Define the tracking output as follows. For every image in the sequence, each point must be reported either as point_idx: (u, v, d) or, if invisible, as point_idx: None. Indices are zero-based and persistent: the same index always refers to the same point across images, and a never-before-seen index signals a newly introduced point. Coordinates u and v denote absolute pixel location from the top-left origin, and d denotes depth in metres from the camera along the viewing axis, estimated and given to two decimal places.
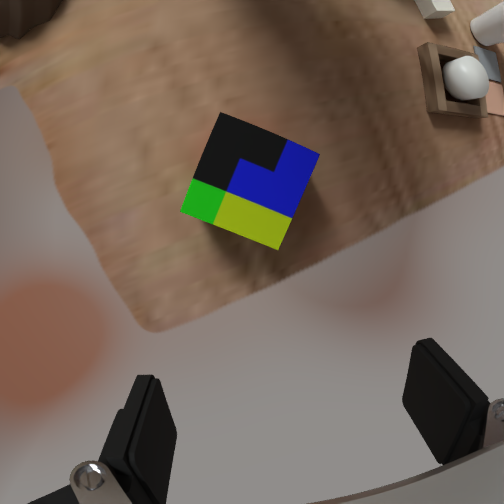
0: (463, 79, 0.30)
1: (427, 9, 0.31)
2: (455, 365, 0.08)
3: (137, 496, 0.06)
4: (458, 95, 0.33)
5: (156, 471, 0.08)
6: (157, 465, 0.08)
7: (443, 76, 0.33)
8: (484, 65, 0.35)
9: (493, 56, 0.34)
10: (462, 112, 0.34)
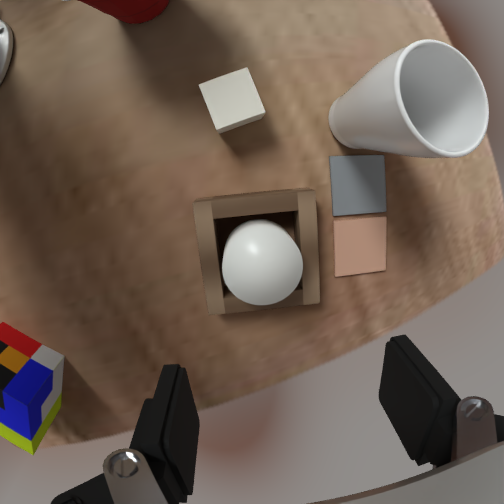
0: (234, 281, 0.24)
1: None
2: (427, 361, 0.09)
3: (169, 483, 0.07)
4: None
5: (185, 458, 0.08)
6: (185, 452, 0.08)
7: None
8: (348, 190, 0.29)
9: (376, 164, 0.28)
10: (259, 308, 0.29)
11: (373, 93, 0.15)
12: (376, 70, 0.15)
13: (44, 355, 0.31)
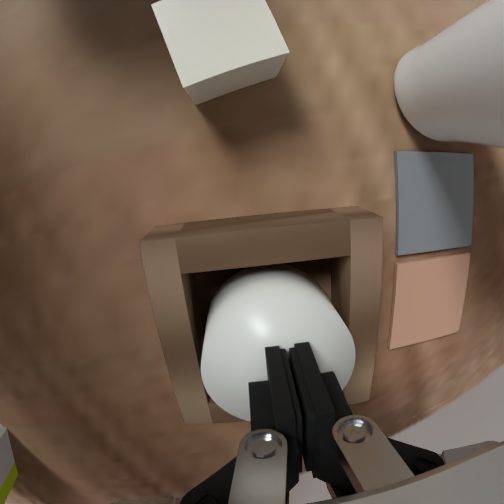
0: (225, 392, 0.12)
1: None
2: (319, 372, 0.09)
3: (297, 458, 0.08)
4: None
5: None
6: None
7: None
8: (422, 212, 0.16)
9: (463, 169, 0.15)
10: None
11: None
12: None
13: None
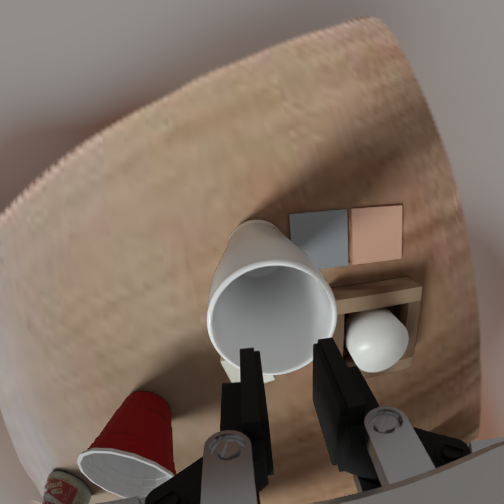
0: (386, 363, 0.29)
1: None
2: (346, 366, 0.10)
3: (265, 461, 0.08)
4: None
5: None
6: None
7: None
8: (326, 252, 0.30)
9: (300, 222, 0.29)
10: (415, 333, 0.31)
11: None
12: None
13: None
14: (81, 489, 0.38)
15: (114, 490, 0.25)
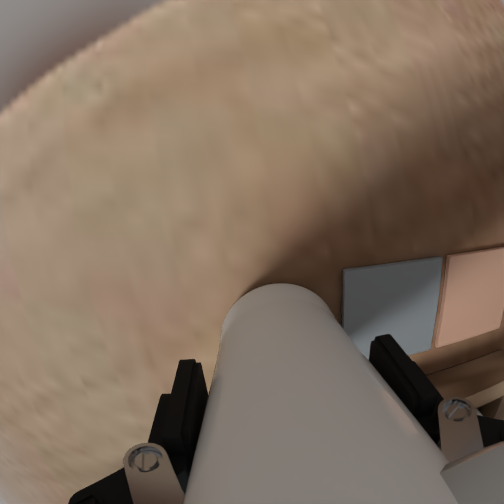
0: None
1: None
2: (410, 361, 0.09)
3: None
4: None
5: None
6: None
7: None
8: (400, 333, 0.15)
9: (362, 286, 0.15)
10: None
11: None
12: None
13: None
14: None
15: None
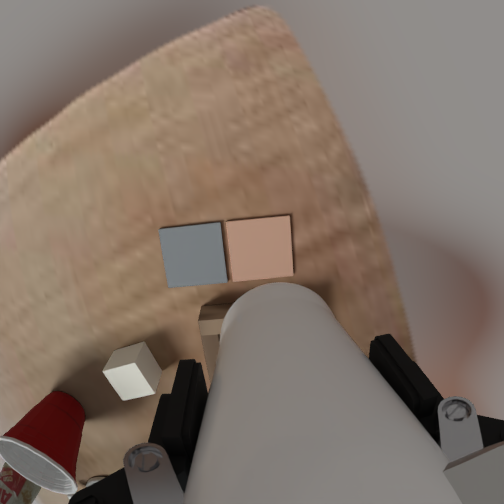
0: None
1: None
2: (410, 361, 0.09)
3: None
4: None
5: None
6: None
7: None
8: (200, 268, 0.29)
9: (170, 238, 0.28)
10: None
11: None
12: None
13: None
14: None
15: (31, 478, 0.24)
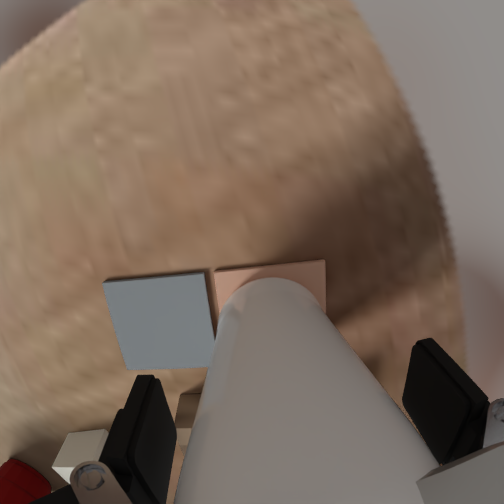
0: None
1: None
2: (455, 365, 0.08)
3: (137, 496, 0.06)
4: None
5: (156, 471, 0.08)
6: (157, 465, 0.08)
7: None
8: (174, 345, 0.17)
9: (121, 297, 0.16)
10: None
11: None
12: None
13: None
14: None
15: None
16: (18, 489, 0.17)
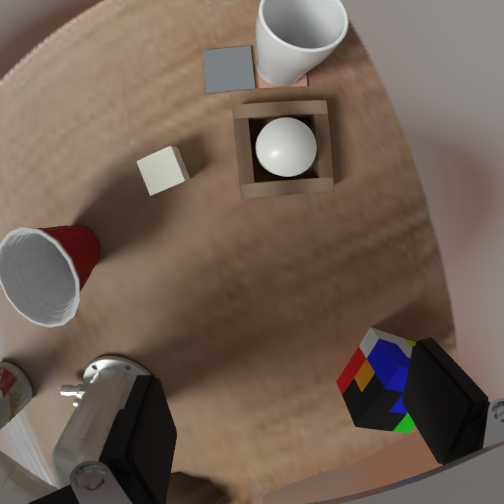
0: (297, 168, 0.32)
1: (179, 183, 0.34)
2: (455, 365, 0.08)
3: (137, 496, 0.06)
4: None
5: (156, 471, 0.08)
6: (157, 465, 0.08)
7: None
8: (234, 77, 0.33)
9: (211, 56, 0.32)
10: (329, 149, 0.33)
11: (301, 63, 0.22)
12: (281, 58, 0.21)
13: (366, 345, 0.41)
14: (20, 380, 0.40)
15: (25, 312, 0.28)
16: (78, 230, 0.33)
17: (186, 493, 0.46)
